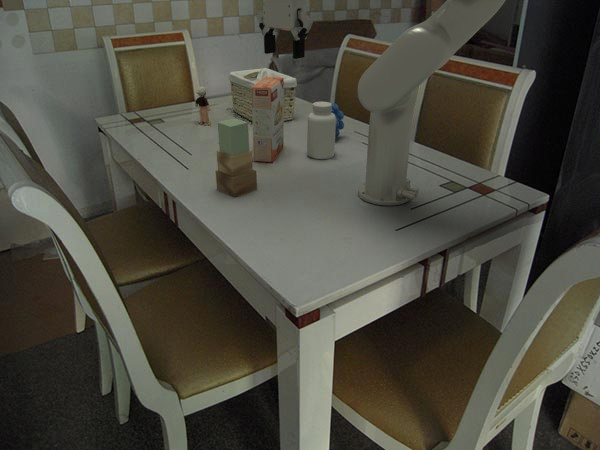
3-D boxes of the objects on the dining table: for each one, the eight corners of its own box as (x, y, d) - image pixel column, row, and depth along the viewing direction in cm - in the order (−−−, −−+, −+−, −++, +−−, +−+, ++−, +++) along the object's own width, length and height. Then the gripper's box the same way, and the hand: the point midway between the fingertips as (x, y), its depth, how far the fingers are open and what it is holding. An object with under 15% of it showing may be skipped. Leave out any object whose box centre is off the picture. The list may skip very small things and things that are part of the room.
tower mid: (252, 170, 123) (251, 151, 121) (233, 177, 120) (231, 157, 117) (237, 164, 127) (236, 145, 125) (217, 170, 123) (216, 150, 121)
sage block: (249, 151, 121) (247, 122, 118) (232, 156, 118) (230, 126, 115) (236, 146, 124) (234, 118, 121) (219, 150, 121) (217, 122, 118)
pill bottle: (326, 161, 142) (327, 108, 135) (301, 156, 146) (302, 104, 139) (339, 153, 148) (341, 102, 141) (315, 148, 152) (316, 98, 145)
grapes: (321, 146, 154) (322, 107, 148) (309, 140, 159) (309, 102, 153) (351, 139, 160) (353, 101, 154) (338, 134, 165) (339, 97, 159)
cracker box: (274, 163, 141) (272, 87, 132) (253, 162, 142) (249, 86, 133) (285, 147, 153) (284, 76, 144) (266, 146, 154) (263, 75, 145)
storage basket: (229, 111, 190) (226, 70, 183) (268, 105, 197) (267, 66, 190) (257, 127, 172) (255, 83, 165) (298, 121, 179) (298, 78, 172)
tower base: (257, 189, 126) (256, 170, 123) (235, 198, 121) (233, 178, 119) (239, 181, 130) (237, 163, 128) (217, 189, 126) (215, 170, 123)
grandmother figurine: (216, 124, 175) (213, 86, 169) (209, 126, 172) (206, 89, 166) (200, 120, 179) (196, 84, 173) (192, 123, 176) (188, 86, 170)
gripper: (323, -26, 108) (321, 58, 116) (269, -27, 119) (271, 49, 127) (298, -25, 104) (298, 62, 112) (244, -27, 114) (248, 53, 122)
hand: (284, 55), depth 119 cm, fingers open, 9 cm apart
